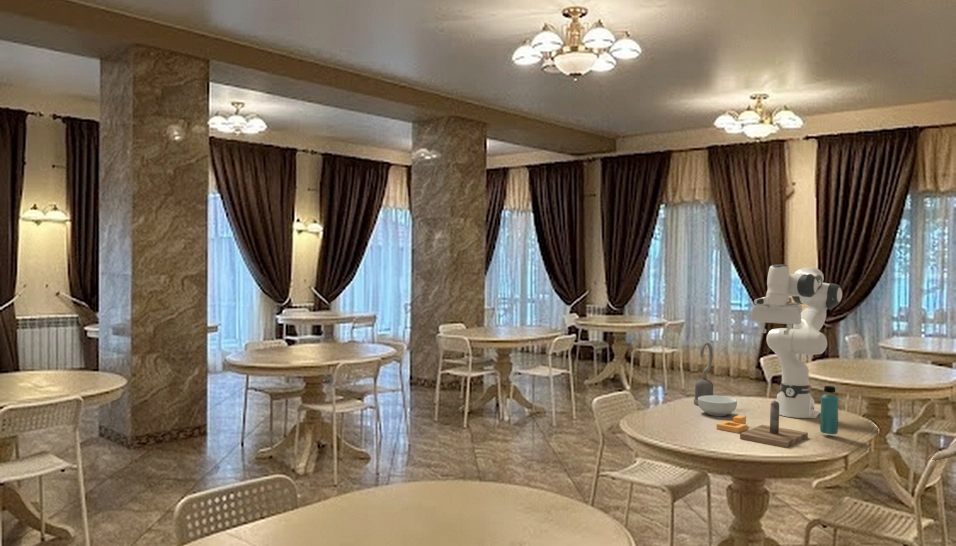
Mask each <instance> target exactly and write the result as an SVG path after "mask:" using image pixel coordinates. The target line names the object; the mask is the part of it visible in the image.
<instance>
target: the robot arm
mask: <svg viewBox="0 0 956 546" xmlns="http://www.w3.org/2000/svg"><path fill="white" fill-rule="evenodd" d="M824 279H825V278H824V273H823V272H822V271H821V270H820V269H819V268H817V267H810V266H807V267H802V268H799V269H797V270H796V271H794V273H790V266H789V265H787V264H772V265H770V266H769V268H768V273H767V280H766V285H767V291H766V294H765V296H764V297H759V298H756V299H754V301H753V302H754V305H753V307H752V309H751V315H750V320H751V321H752V322H754V323H755V322H756V323H757V322H758V325H759V327H760V329H761V334H762V333H763V334H766V333H767V329H766V328H765V326H764V325H765V323H771V324H783V325H786V327H787V328H786V327H780V328H778V327H777V328H772V329H770V330H769V331H768V333H767V334H766V344H767V346H768V347H769V349H770V350H771V351H773V352H774V354H775V355H776V356H777V358H778V361H779V363H780V366H781V367H780V368H781V382H780V386H779V387H780V388H779V389H780V392H778V393H777V396H776V401H777V402H778V403H779V416H783V417H786V418H795V419H796V418H798V419H817V417H818V416H819V415H820V414H821V410H818V409H815V400H814V398H813V396H812V395H811V393H810V392H811V391H810V389H811V388H812V386H811V384H809V376H810V375H809V373H810V372H809V370H810V369H809V367H808V365H806V363H804V362H802V361H801V360H800V359H798V356H797V354H798V355H807V356H811V355H812V356H814V355H815V356H817V355H822V354H823V353H824V352H825V351H826V349H827V347H828V340H827V336H826V335H825V334H824V333H823V332H820V330H821V329H822V327H823V326H824V324H825V322H826V318H827V310H829V311H832V310H833V309H834V308H835V307H837V306H838V305H839V304H840V303H841V301H842V298H843V290H842V288H841V286H840V285H839V284H836V283H832V282H831V283H827V282H824ZM789 297H791V298H792V300H793V301H794V302H790V301H789ZM803 305H807V307H805V308H804V309H803Z"/></svg>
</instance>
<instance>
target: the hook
mask: <svg viewBox="0 0 956 546" xmlns="http://www.w3.org/2000/svg"><path fill="white" fill-rule="evenodd" d="M706 347H708V351H709V353H708V354H709V357H708V363H707V366H706V367H705V368H704V369H703V371H702V378H700V379H698V380H696V382H695V385H694V399H693V404H694V405H695V406H699V405H698V397H700V396H714V384H713V382H712V381H711V380H709V379H707V372H708V370H710V368H711V367H712V365H713V364H712V363H713V356H714V354H713V353H714V352H713V348H712V347H713V346H712V344H711V343H710V342H709V341H706V342H703V344H702V345H701V347H700V353H699V354H700V357H701V358H702V359H703V358H704V352H705V348H706Z"/></svg>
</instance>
